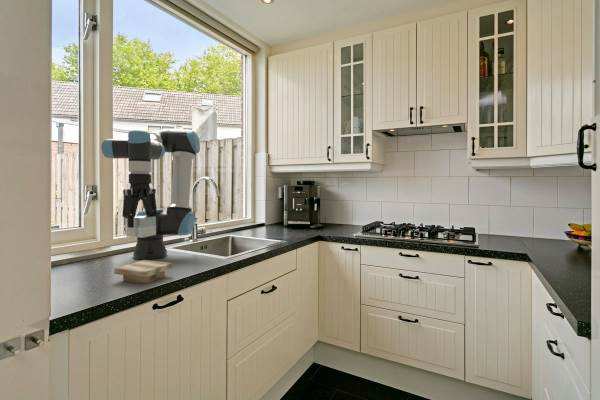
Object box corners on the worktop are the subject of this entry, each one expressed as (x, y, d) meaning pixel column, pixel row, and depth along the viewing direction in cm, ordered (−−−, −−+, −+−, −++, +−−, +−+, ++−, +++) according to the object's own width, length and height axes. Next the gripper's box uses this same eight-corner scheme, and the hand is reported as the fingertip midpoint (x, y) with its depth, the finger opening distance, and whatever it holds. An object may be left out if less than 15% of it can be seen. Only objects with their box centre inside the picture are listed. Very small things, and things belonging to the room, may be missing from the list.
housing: (156, 234, 124) (155, 216, 124) (142, 237, 117) (141, 218, 117) (137, 233, 127) (137, 215, 126) (123, 236, 120) (122, 217, 119)
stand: (143, 272, 132) (143, 259, 132) (172, 275, 128) (172, 263, 127) (114, 281, 119) (114, 268, 119) (145, 286, 114) (144, 272, 114)
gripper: (151, 173, 131) (152, 230, 132) (109, 172, 112) (110, 238, 113) (166, 173, 129) (167, 231, 130) (126, 172, 110) (127, 239, 111)
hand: (140, 234), depth 122 cm, fingers closed on housing, 7 cm apart
